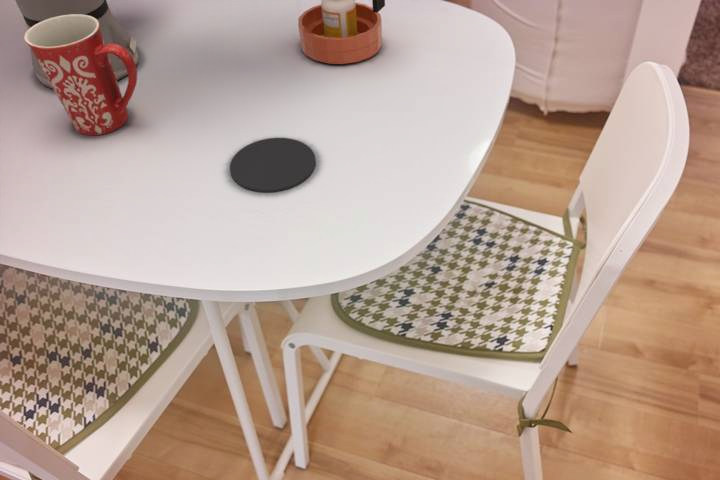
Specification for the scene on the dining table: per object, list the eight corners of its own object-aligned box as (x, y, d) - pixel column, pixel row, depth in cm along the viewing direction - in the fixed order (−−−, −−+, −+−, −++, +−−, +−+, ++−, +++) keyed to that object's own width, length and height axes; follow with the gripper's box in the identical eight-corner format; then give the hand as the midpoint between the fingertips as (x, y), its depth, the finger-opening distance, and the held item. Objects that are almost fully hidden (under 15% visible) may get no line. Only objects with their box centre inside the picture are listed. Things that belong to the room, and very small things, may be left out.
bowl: (287, 42, 102) (283, 15, 99) (354, 20, 107) (353, -6, 104) (327, 75, 95) (324, 47, 91) (397, 50, 100) (397, 23, 97)
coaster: (216, 159, 80) (215, 156, 80) (290, 130, 85) (290, 128, 84) (253, 204, 74) (253, 201, 74) (331, 170, 78) (331, 168, 78)
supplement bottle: (353, 33, 103) (349, -26, 96) (361, 48, 100) (358, -12, 92) (322, 38, 102) (315, -21, 95) (329, 53, 98) (323, -7, 91)
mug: (53, 135, 84) (7, 42, 74) (90, 100, 90) (51, 10, 80) (136, 147, 82) (100, 53, 72) (168, 110, 88) (138, 19, 78)
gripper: (423, -160, 79) (422, 4, 94) (261, -174, 86) (284, -20, 102) (399, -145, 74) (402, 25, 90) (229, -162, 82) (259, -2, 97)
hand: (340, 1), depth 96 cm, fingers open, 13 cm apart
